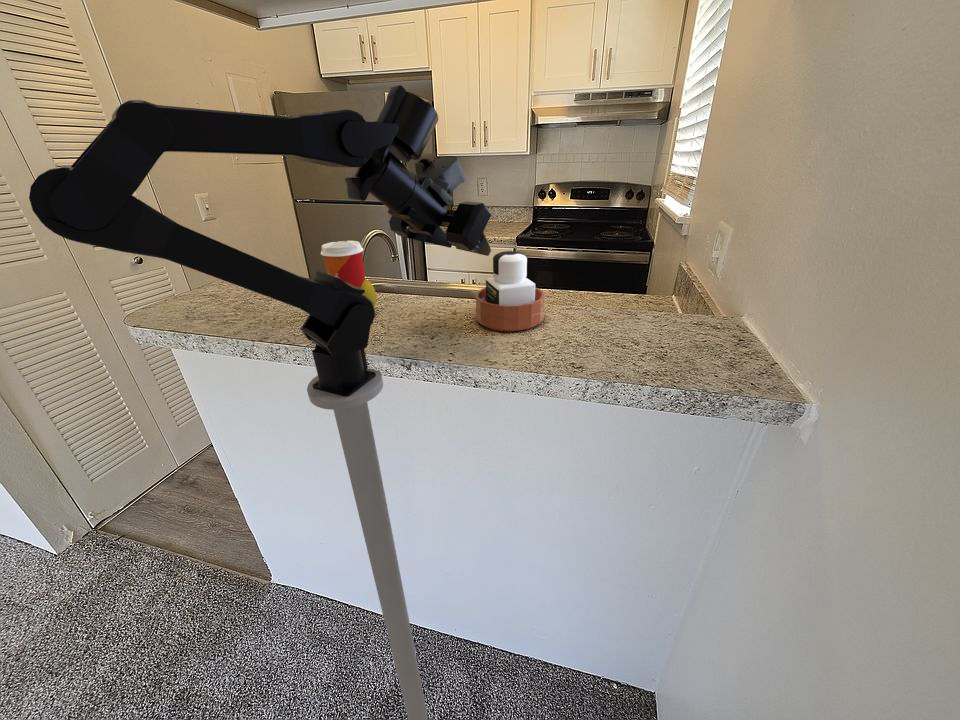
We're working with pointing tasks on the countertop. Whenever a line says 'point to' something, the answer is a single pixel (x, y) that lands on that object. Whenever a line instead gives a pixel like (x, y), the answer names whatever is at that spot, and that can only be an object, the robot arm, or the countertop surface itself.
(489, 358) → the countertop surface
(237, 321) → the countertop surface
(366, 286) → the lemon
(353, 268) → the paper cup
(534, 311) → the bowl
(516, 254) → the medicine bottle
